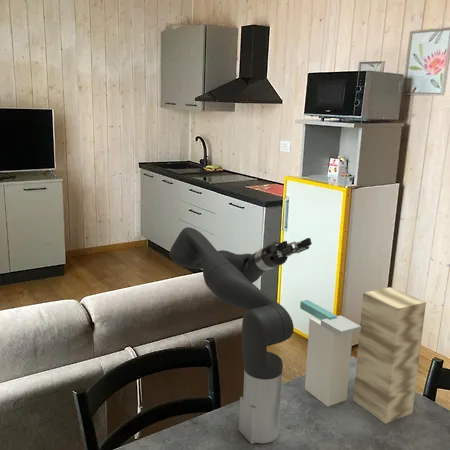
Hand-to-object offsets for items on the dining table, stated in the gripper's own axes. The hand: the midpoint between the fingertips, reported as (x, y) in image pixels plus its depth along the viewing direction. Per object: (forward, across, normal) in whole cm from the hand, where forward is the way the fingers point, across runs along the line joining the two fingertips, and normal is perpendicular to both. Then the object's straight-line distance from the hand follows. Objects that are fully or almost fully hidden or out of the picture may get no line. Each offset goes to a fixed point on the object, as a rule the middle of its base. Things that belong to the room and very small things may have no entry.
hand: (298, 242), depth 148 cm
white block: (-6, 0, +44) cm, 44 cm away
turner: (+3, 0, +23) cm, 24 cm away
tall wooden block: (+4, +10, +50) cm, 51 cm away
